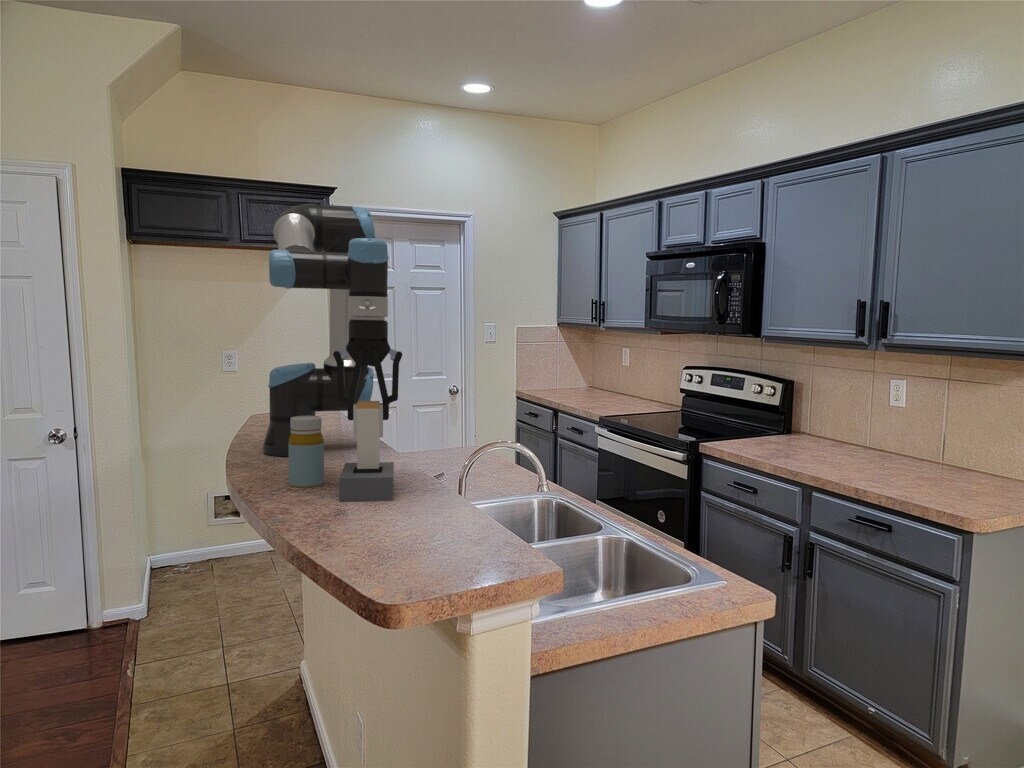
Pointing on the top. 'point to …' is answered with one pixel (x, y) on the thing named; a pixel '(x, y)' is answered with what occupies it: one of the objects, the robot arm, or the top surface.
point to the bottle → (306, 452)
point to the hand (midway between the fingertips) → (368, 436)
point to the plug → (368, 435)
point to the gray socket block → (366, 483)
